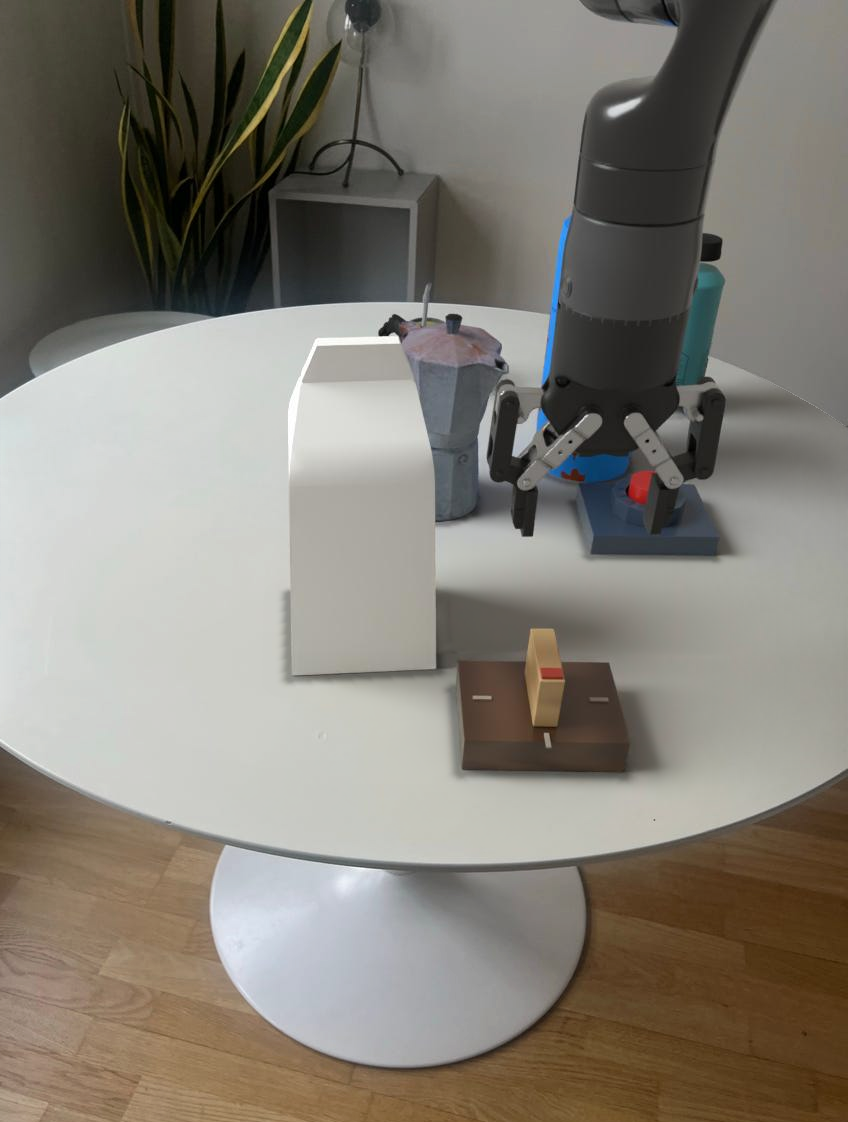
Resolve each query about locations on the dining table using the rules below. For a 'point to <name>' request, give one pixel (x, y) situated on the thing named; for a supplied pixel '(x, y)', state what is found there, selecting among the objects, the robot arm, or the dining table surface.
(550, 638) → the handle
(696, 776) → the dining table surface
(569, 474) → the thermos
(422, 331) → the moka pot
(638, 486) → the button
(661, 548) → the button box
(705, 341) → the beverage bottle
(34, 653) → the dining table surface
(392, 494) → the milk
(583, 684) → the panel
